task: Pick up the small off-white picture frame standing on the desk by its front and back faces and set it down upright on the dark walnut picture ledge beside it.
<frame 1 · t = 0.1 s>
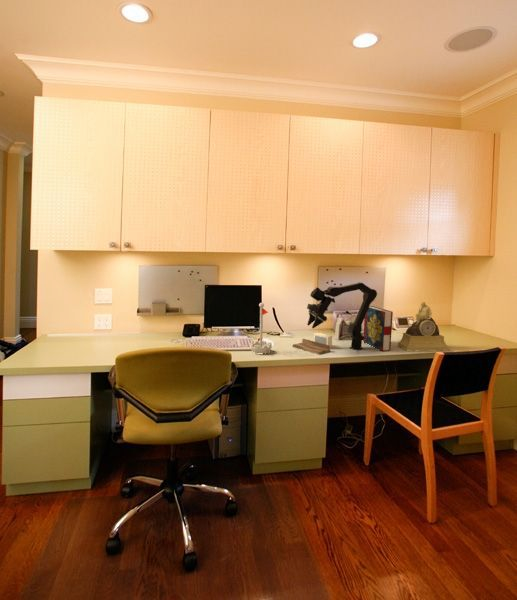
hand: (310, 326, 240), 15 cm above the table, tool tilted 30°, fingers open, 9 cm apart
picture ledge: (310, 349, 244), on the table
book: (375, 346, 255), on the table
decorative sign: (344, 337, 280), on the table
flag stand: (260, 352, 236), on the table
picture frame: (322, 346, 251), on the table
decorative clock: (423, 348, 252), on the table
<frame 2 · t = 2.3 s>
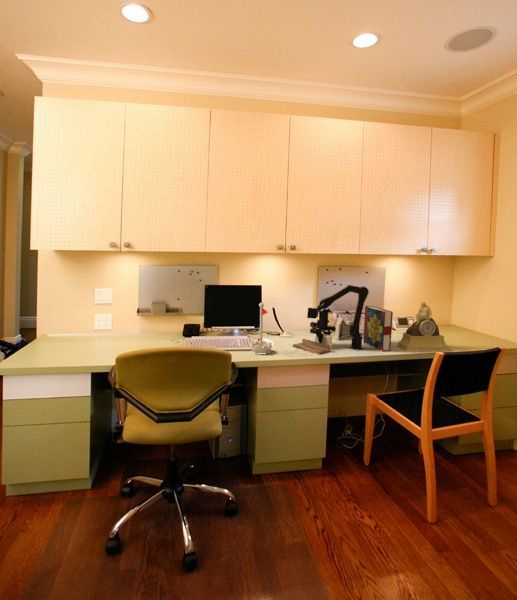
hand: (322, 342, 251), 3 cm above the table, tool pointing down, fingers closed on picture frame, 4 cm apart
picture frame: (322, 346, 251), on the table, touching gripper
everything else where it was.
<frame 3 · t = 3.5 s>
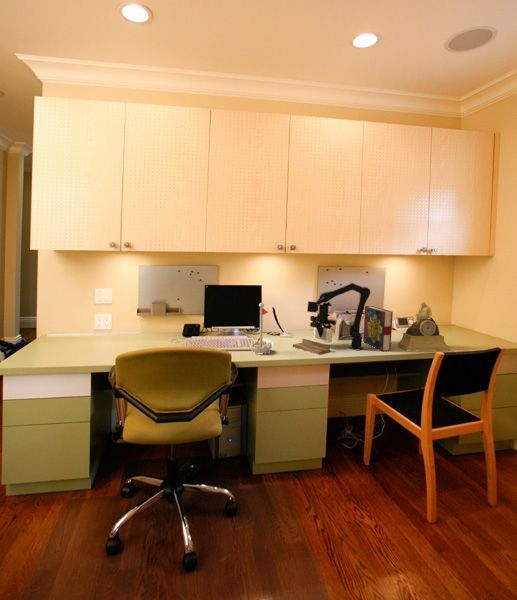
hand: (322, 336, 250), 7 cm above the table, tool pointing down, fingers closed on picture frame, 4 cm apart
picture frame: (322, 340, 251), point 4 cm above the table, touching gripper
everything else where it was.
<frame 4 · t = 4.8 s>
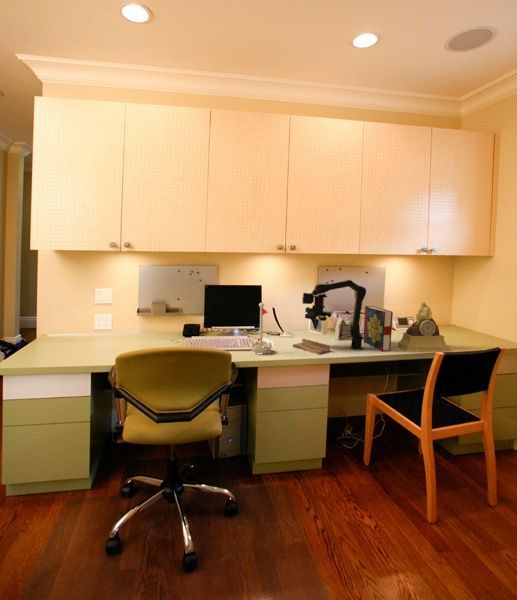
hand: (317, 328, 247), 12 cm above the table, tool pointing down, fingers closed on picture frame, 4 cm apart
picture frame: (317, 332, 247), point 10 cm above the table, touching gripper
everything else where it was.
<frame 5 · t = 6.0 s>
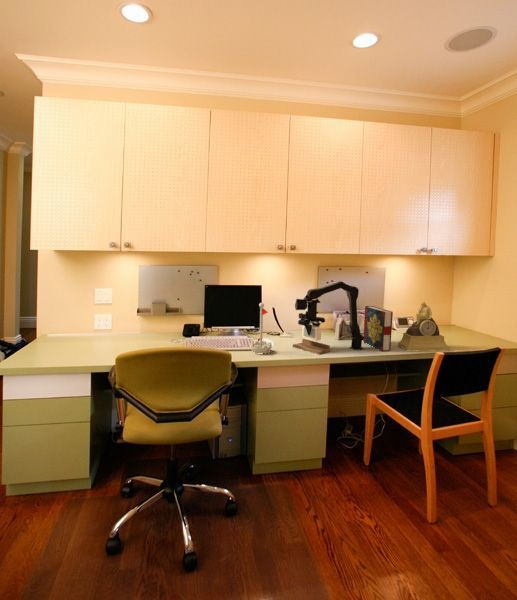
hand: (311, 334, 243), 9 cm above the table, tool pointing down, fingers closed on picture frame, 4 cm apart
picture frame: (311, 338, 244), point 7 cm above the table, touching gripper
everything else where it was.
when the fingers open (5 cm above the table, at t = 7.2 s): picture frame drops 1 cm, resting on picture ledge.
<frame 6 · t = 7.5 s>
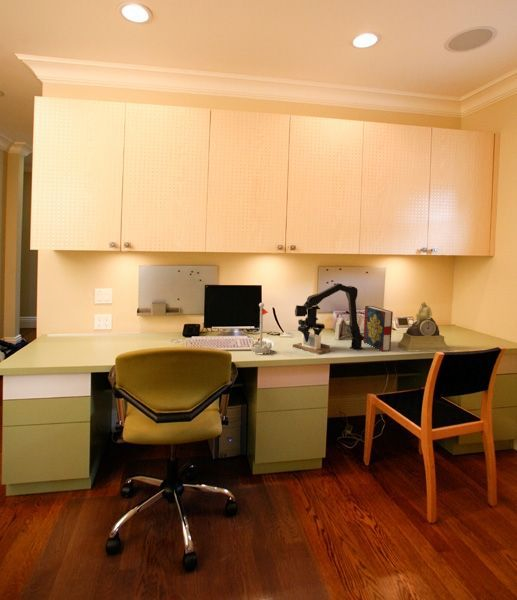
hand: (311, 341, 244), 5 cm above the table, tool pointing down, fingers open, 8 cm apart
picture frame: (311, 346, 244), point 1 cm above the table, touching picture ledge
everything else where it was.
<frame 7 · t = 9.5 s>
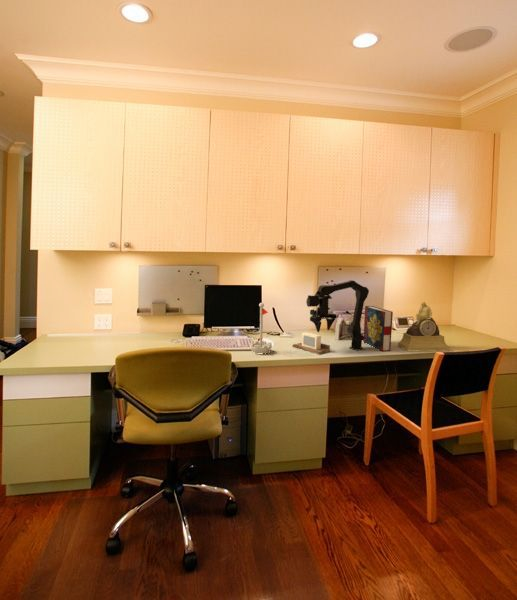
hand: (323, 331, 242), 12 cm above the table, tool pointing down, fingers open, 9 cm apart
nothing on the table moved.
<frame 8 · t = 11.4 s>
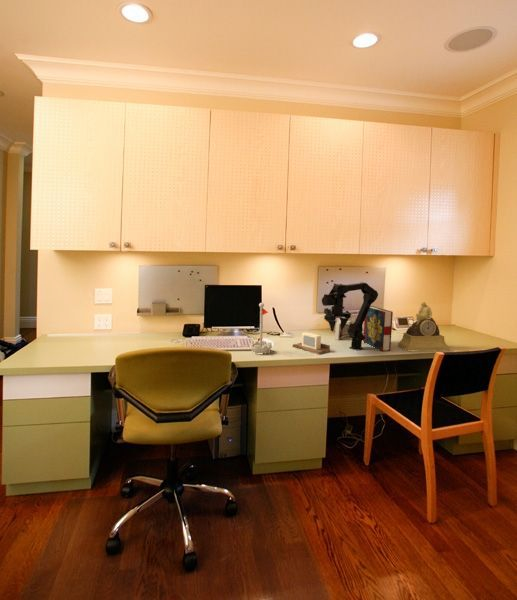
hand: (337, 330, 240), 13 cm above the table, tool pointing down, fingers open, 9 cm apart
nothing on the table moved.
at the end: picture frame 0.2 cm off-centre on the picture ledge, point 1.5 cm above the picture ledge's base; picture frame tilted 0°; the gripper is holding nothing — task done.
